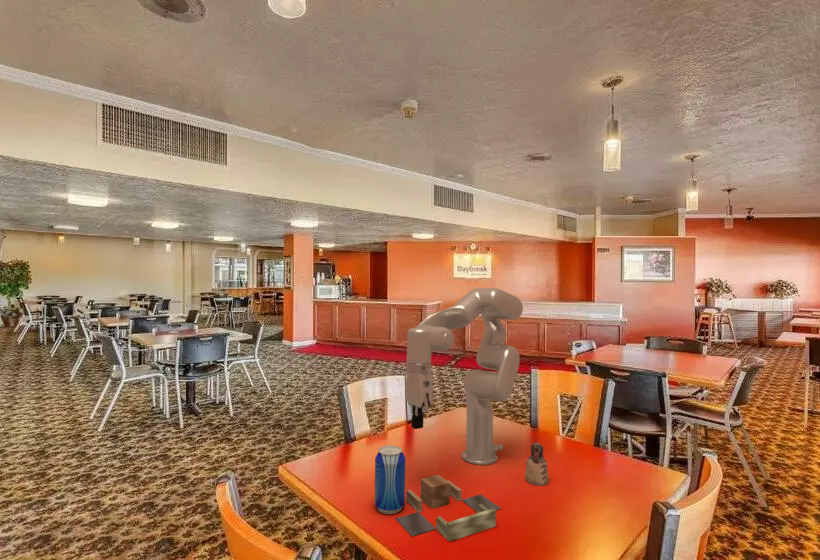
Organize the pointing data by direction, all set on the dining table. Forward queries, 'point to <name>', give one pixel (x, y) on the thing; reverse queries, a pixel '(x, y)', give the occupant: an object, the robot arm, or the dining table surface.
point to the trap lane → (453, 529)
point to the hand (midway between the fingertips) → (417, 427)
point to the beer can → (390, 480)
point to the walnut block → (435, 491)
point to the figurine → (536, 467)
